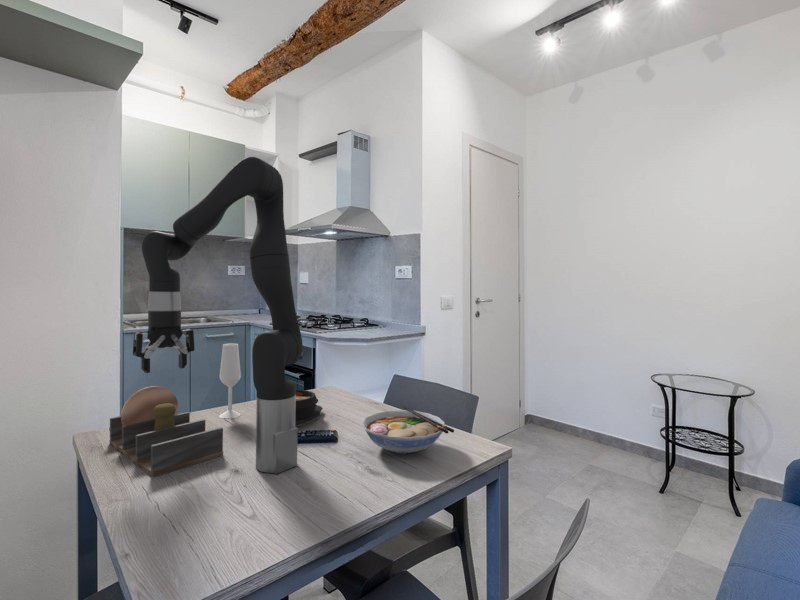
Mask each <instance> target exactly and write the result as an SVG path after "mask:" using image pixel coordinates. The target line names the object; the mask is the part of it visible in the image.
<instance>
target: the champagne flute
mask: <svg viewBox="0 0 800 600" xmlns="http://www.w3.org/2000/svg"><path fill="white" fill-rule="evenodd" d="M221 351H222V352H221V360H220V367H219V376H218V377H219V380H220V382H221V383H222V384H223V385H224V386H226V387H227V392H228V393H227V394H228V395H227V402H228V404H227V410H226V411H224V412H223V413H221V414H219V415H218V417H219V418H220V419H224V418H226V419H228V418H229V419H235V418H238V417H240V416H241V415H242V414H241V413H240V412H237V411H236V410H234V409H233V387H234V386H235V385H236V384H238V383H239V382H240V380H241V378H242V373H241V372H242V371H241V361H240V350H239V344H238V343H232V342H231V343H223V344H222V350H221ZM226 419H225V420H226Z"/></svg>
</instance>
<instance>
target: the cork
mask: <svg viewBox="0 0 800 600" xmlns="http://www.w3.org/2000/svg"><path fill="white" fill-rule="evenodd" d="M175 412H176V408H175V406H174V405H173V404H171V403H165V404H160V405H157V406H156V407H155V408H154V410H153V415H154V417H155V418H156V419H155V426H154V431H155V430H159V429H164V428H168V427H172V426H175V424H174V417H173V416H174V414H175Z"/></svg>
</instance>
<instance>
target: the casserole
mask: <svg viewBox="0 0 800 600" xmlns="http://www.w3.org/2000/svg"><path fill="white" fill-rule="evenodd" d="M318 403H319V399H318V398H317V396H316V393H315V392H313V391H310V390H305V389H296V415H295V426H297V425H302V424H305V423H308V422H311V421H314V420H316V419H317V418H319V417H320V416H321V412H322V410H323V406H322V405H321V406H320V405H318Z"/></svg>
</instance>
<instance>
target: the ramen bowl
mask: <svg viewBox="0 0 800 600" xmlns="http://www.w3.org/2000/svg"><path fill="white" fill-rule="evenodd" d="M402 408H403V409H395V410H394V409H393V410H384V411H379V412H374V413H372V414H370V415H368V416H366V417H364V418H363V420H362V421H361V424H362V426H363V428H364V430H365V432H366V434H367V435H368V437H369V439H370V440H371V441H372V442H373V444H375V445H377V446H378V447H381V448H382V449H384V450H386V451H389V452H390V451H391V452H393V453H394V452H396V453H395V454H399V453H403V454H402V455H407V454H406V453H408V454H413V453H416V452H420V451H422V450H425V449H427V448H429V447H431V446H432V445H433V444H434V443H435V442H436V441H437V440H438V439H439V438H440V436H441V435H442V434H443V433H444V434H447V435H448V434H449V432H451V433H454V432H455V429H453V428H451V427H449V426H447V425H445V424H446V423H445V421H444V420H442V418H440V417H439V416H437V415H434V414H431V413H429V412H422V411H418V410H412V409H411V408H408V407H406V406H405V405H404V406H402ZM412 452H413V453H412Z"/></svg>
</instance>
